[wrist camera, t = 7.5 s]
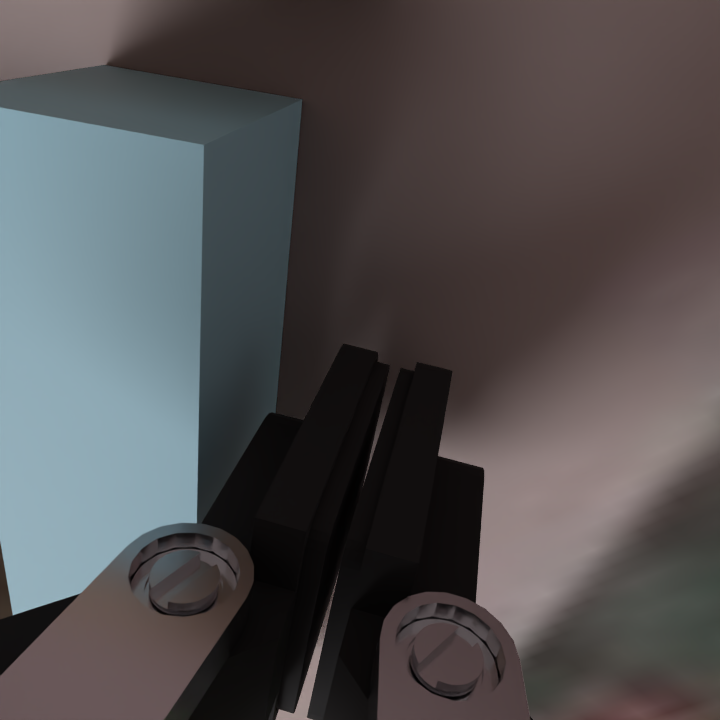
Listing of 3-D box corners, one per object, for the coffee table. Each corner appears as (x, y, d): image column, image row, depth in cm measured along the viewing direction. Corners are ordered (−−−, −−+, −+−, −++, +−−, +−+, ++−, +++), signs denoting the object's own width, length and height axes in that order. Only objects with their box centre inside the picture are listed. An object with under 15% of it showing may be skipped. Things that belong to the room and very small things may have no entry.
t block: (301, 99, 10) (204, 144, 7) (262, 559, 14) (192, 715, 11) (-198, 13, 10) (-489, 16, 7) (-88, 471, 15) (-243, 592, 12)
